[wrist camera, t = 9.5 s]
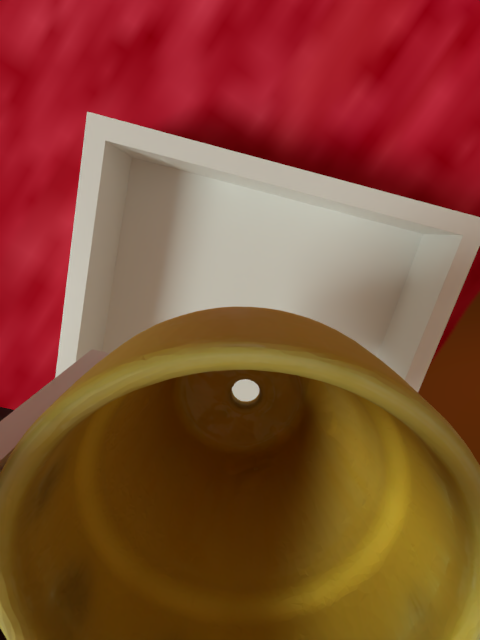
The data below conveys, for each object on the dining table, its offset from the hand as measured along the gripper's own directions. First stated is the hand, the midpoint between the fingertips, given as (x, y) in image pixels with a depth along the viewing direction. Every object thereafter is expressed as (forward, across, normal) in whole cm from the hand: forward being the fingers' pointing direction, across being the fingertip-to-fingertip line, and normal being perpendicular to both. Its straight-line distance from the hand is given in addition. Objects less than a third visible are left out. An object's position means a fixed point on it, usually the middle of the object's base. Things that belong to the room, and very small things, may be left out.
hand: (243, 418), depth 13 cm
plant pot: (+4, 0, 0) cm, 4 cm away
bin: (+11, 0, 0) cm, 11 cm away
